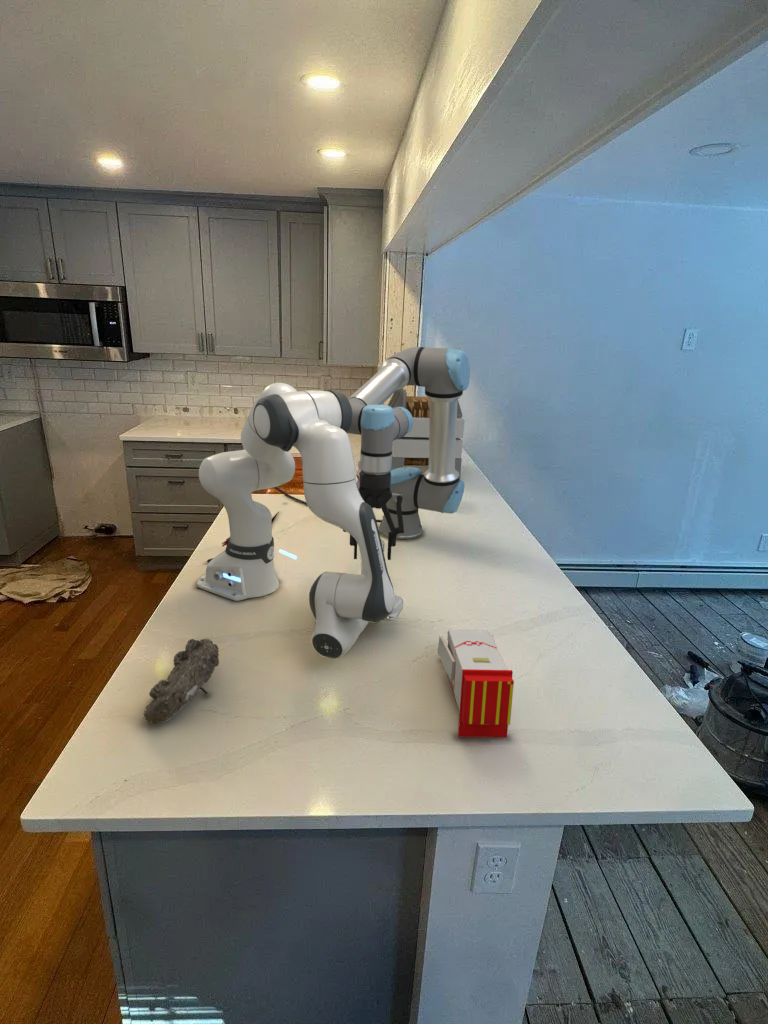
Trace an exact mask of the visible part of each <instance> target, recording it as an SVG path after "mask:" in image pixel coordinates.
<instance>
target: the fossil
mask: <svg viewBox="0 0 768 1024" xmlns="http://www.w3.org/2000/svg"><path fill="white" fill-rule="evenodd" d="M184 648H185V649H184V650H179V651H177V652H176V654H175V655H174V656H173V658H174V659H173V668H172V670H170V673H169V674H168V676H167V678H166V679H161V680H159V681H158V683H155V685H154V686H153V687H152V688H150V691H149V693H148V695H149V697H150V698H152V700H151V701H150V702H149V704H148V705H146V707H145V710H144V718H145V721H146V722H149V723H151V724H158V723H164V722H165V723H166V722H168V721H170V720H171V718H172V717H174V716H175V715H176V714H177V713H179V712H180V711H181V710H182V709H183V708H184V707H185V706H186V705H187V704H188V703H189V702H190V701H192V699H193V698H194V696H195V694H197V693H198V692H199V691H202V693H204V694H205V695H208V691H207V690H206V689H205V688H204V687H202V686H203V685H204V683H205V684H206V683H208V682H209V680H210V679H211V677H212V675H213V673H214V671H215V669H216V668H217V667H218V666H219V664H220V660H219V659H220V658H219V656H220V653H219V652H220V650H219V646H218V645H217V644H216V643H214V642H213V640H212V639H210V638H203V639H201V640H198V639H195V638H190V639H188V640H187V643H186V644H185V647H184Z"/></svg>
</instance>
